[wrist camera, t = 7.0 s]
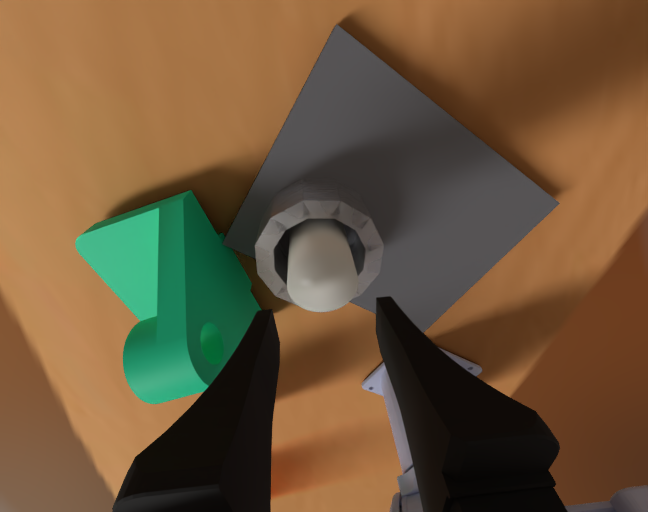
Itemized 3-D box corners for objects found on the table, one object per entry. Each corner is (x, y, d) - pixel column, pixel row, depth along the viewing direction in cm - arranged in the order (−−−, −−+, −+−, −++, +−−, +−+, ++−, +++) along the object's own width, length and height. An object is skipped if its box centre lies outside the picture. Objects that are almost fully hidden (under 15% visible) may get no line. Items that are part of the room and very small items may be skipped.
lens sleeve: (392, 213, 20) (407, 239, 17) (332, 289, 23) (337, 322, 20) (296, 156, 18) (295, 174, 15) (244, 248, 21) (235, 279, 18)
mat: (549, 197, 22) (559, 203, 21) (417, 326, 28) (421, 334, 27) (334, 26, 16) (336, 24, 15) (225, 236, 22) (222, 244, 21)
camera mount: (92, 220, 20) (-61, 337, 12) (196, 183, 20) (114, 281, 11) (188, 338, 27) (135, 472, 18) (270, 314, 26) (256, 442, 17)
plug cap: (354, 221, 20) (372, 273, 15) (325, 261, 22) (333, 320, 17) (307, 195, 19) (310, 242, 14) (280, 239, 21) (274, 295, 16)
